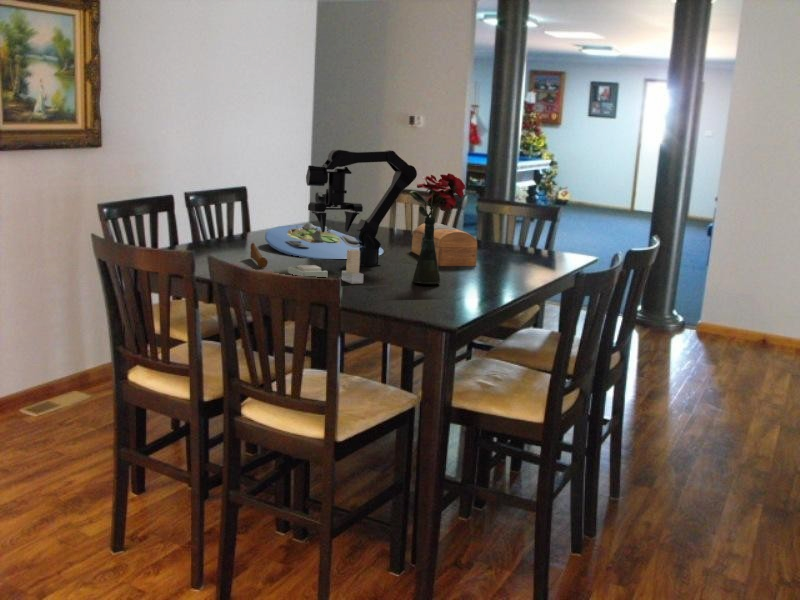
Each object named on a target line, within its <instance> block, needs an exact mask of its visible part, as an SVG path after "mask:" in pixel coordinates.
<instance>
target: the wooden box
mask: <svg viewBox="0 0 800 600" xmlns="http://www.w3.org/2000/svg"><path fill="white" fill-rule="evenodd" d="M424 230H425V223H424V222H423V223H422V224H420V225H419V226H417V227H416V228H415V229H414V230H413V232H412V233H413V234H412V240H411V253H413V254H416V255H417V256H419V255H420V252H421V249H422V245H423V240H424V234H425V231H424ZM434 244H435V251H436V259H437V264H438V267H476V266H477V263H478V262H477V260H478V240H477V239H476V237H475V236H473V235H472V234H470V233H468V232H466V231H463V230H460V229H457V228H456V227H452V226H449V225H445V224H441V223H438V222H435V224H434Z"/></svg>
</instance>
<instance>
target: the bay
mask: <svg viewBox="0 0 800 600" xmlns="http://www.w3.org/2000/svg"><path fill="white" fill-rule="evenodd" d="M328 271H329V270H321V271H306V272H303V271H301V270H298V265H297V266H294V265H293V266H288V267H287V273H288V274H290V275H292V274H293V276H295V275H301V276H316V277H326V278H329V277H328V275H329V272H328Z"/></svg>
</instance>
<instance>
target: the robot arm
mask: <svg viewBox="0 0 800 600" xmlns="http://www.w3.org/2000/svg"><path fill="white" fill-rule="evenodd" d="M361 163H362V164H363V163H364V164H365V163H387V164H388V165H389V167H390V168H391V169H392V170H393V171H394V174H393V176H392V180H391V183H390V185H389V187H388V189H387V190H386V192H385V193H384V194H383V196H382V197H381V199H380V200H379V202H378V203H377V205H376V207H374V209H373V210H372V212H371V213H370V214H369V216H368V218H366V219H363V218H361V219H360V220H359V222H358V224H357V225H356V226H355V227H354V230H355V231H354V232H353V234H354V238H356V240H357V241H359V244H360V246H362V247H360V248H359V251H360V265H359V266H363V267H381V264H380V263H379V258H380V255H379V248H380V247H381V245H382V243H381V242H380V241H379V240H378V239H377V238H376V237H377V234H378V232H379V229H380V228H379V227H380V224H381V223H382V222H383V220H384V218H385V216H387V214H388V212H389V211H390V209H391V208H392V206H393V205H394V203H395V202H396V200H397V199H398V197H399V196H400V194H401V193H402V192H403V191H404V190H405V189H406V188H408V187H409V186H410V185H411V184H412V183H413V182H414V181H415V180H416V178H417V176H418V171H417V168H415V166H413V165H411V164H408V163H407V162H406V160H404V159H403V158H402V157H400V156H399V155H398V154H397V153H396V151H394V150H391V149H390V150H379V151H377V150H376V151H352V150H344V149H343V150H342V149H332V150H330V152H329V153H328V154H327V159H326V160H325V162H324V163H323V165H322V166H321V165H320V166H317V165H316V166H315V165H308V166H307V171H306V174H305V183H306V185H307V186H309V187H324V186H325V185H328V187H327V188H326V190H325V193H323V192H315V195H314V196H315V197H314V199H315V202H313V201H311V202H309V204H307V210H308V211H310V212H311V213H312V214H314V215H315V216H316V218H317V221H318V224H319V227H321V231H322V232H324V231H325V227H326V222H327V212H325V211H327V210H328V211H334V210H336V211H340V210H341V211H342V210H343V211H344V214H345V221H344V222H345V223H344V224H345V225H344V230H345V232H346V233H348V232H349V230H350V228H351V226H352V225H353V222H354V221H355V219H356V217H357V215H360V213H362V212H364V205H363V204H362V203H360V202H359V203H358V202H355V201H354V202H352V201H351V202H350V201H348V202H345V194H347V193H348V192H347V191H348V190H347V189H346V175H347V174H348V175H352V173H353V172H352V171H351V170H350V169H349V168H348V166H350V165H351V166H352V165H354V164H361ZM342 167H344V168H342ZM332 170H333V171H332Z"/></svg>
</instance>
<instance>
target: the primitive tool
mask: <svg viewBox="0 0 800 600" xmlns="http://www.w3.org/2000/svg"><path fill="white" fill-rule="evenodd" d="M250 258H251V259H253V260H254V261H255V262H256V264H257V266H258V267H259V268H262V269H265V268H266V267H267V266H268V263H269V262H268V259H267V258H266V257H263V255H262V254H261V253H260V252H259V249H258V248H257V246H256V244H255V243H254V242H251V244H250Z"/></svg>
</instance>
